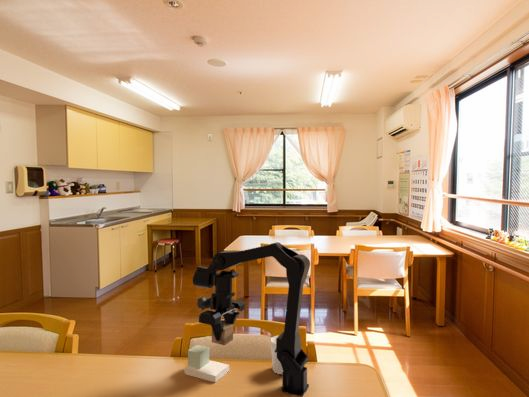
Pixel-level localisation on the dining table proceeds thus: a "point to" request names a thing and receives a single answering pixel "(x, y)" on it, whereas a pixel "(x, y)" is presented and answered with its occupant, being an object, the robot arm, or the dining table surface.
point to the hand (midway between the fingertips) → (222, 337)
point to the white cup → (275, 357)
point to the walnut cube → (224, 335)
